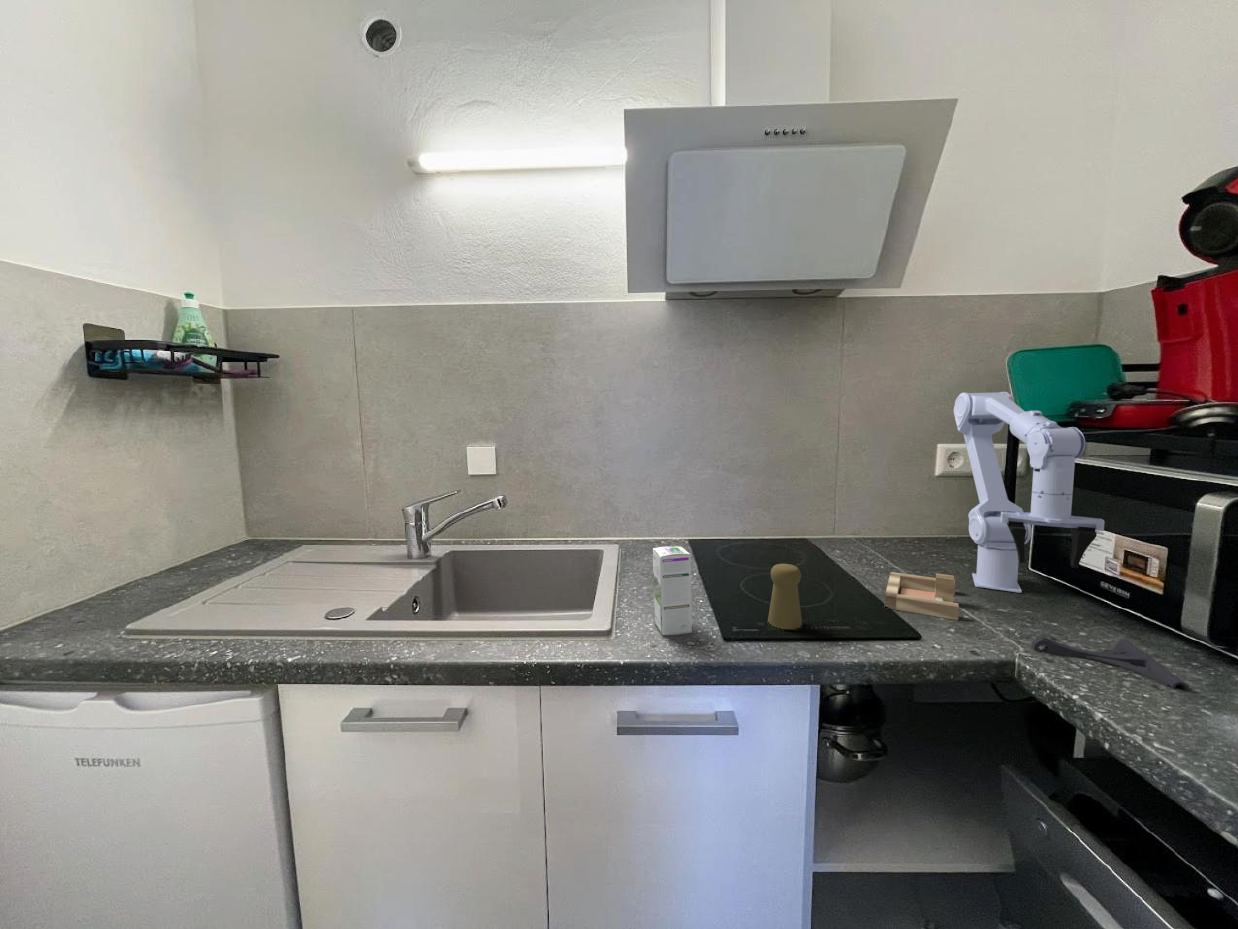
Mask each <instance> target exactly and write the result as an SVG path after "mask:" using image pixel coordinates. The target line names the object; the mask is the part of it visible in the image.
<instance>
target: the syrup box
mask: <svg viewBox="0 0 1238 929" xmlns="http://www.w3.org/2000/svg"><path fill="white" fill-rule="evenodd" d="M691 556H692V555H691V553H690V552H688V551H687V550H686V549H685V548H684V547H682V546H680V545H668V546H667V545H666V546H659V547H658V546H657V547H653V548H652V570H653V571H652V573H653V574H652V575H653V576H652V577H653V582H652V583H653V619H654V620H653V621H654V625H655V626H656V628H657V629H658V631H659V632H660V634H661V636H673V635H674V636H676V635H683V634H692V633H693V630H692V629H693V626H692V624H693V622H692V620H693V619H692V618H693V615H692V613H693V611H692V605H693V604H692V603H693V602H692V573H691V572H692V568H691V566H692V562H691Z"/></svg>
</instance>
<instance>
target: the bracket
mask: <svg viewBox="0 0 1238 929" xmlns="http://www.w3.org/2000/svg"><path fill="white" fill-rule="evenodd" d="M1041 646H1044V647H1043V648H1040V647H1041ZM1031 649H1032V650H1033V651H1034V650H1035V651H1040V652H1039V653H1042V651H1044V652H1046V653H1045V654H1050V653H1051V654H1050V655H1057V656H1058V655H1059V656H1064V655H1065V656H1066V657H1072V658H1078V659H1079V658H1080V659H1088V660H1092V661H1096V662H1101V663H1104V664H1108V665H1111V666H1115V667H1118V668H1121V667H1122V669H1124V670H1127V671H1130V672H1132V671H1133V672H1132V673H1135V672H1136V673H1135V674H1138V675H1141V676H1143V677H1146V678H1148V679H1150V680H1152V681H1154V682H1156V683H1159V684H1161V685H1163V686H1165V687H1169V688H1171V689H1172V690H1176V686H1178V687H1179V688H1181V689H1182V690H1183V691H1184V692H1189V691H1190V687H1189V685H1188V684H1186V683H1185V682H1184V681H1182V679H1180V678H1179V677H1178V676H1176V675H1174V673H1172V672H1171V671H1169V670H1168V669H1166V668H1165V667H1164V666H1162V665H1161V664H1160V663H1159V662H1157V661H1156V660H1154V659H1153V658H1152V657H1150V656H1149V655H1147V653H1145V652H1144V651H1143V650H1141V649H1139V648H1138V647H1137V646H1136V645H1134V644H1133V643H1132V642H1130V641H1129V640H1127V639H1125V638H1124V639H1120V640H1118V641H1117V642H1116V644H1115V647H1114V648H1112V649H1111V650H1106V651H1105V650H1104V651H1090V650H1086V649H1083V648H1077V647H1073V646H1070V645H1066V644H1064V643H1063V644H1062V643H1060V642H1058V641H1057V642H1056V641H1055V640H1051V639H1048V638H1046V637H1043V636H1039V637H1035V638H1034V639H1033V640H1032V641H1031ZM1040 649H1042V650H1040ZM1045 649H1046V650H1045ZM1035 651H1034V652H1035ZM1142 667H1144V668H1142ZM1146 667H1147V668H1148V669H1147V668H1146Z"/></svg>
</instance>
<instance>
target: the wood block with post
mask: <svg viewBox="0 0 1238 929" xmlns="http://www.w3.org/2000/svg"><path fill="white" fill-rule="evenodd" d="M935 578H936V584H935V600H939V601H945V602H952V603H954V596H955V595H954V581H955V576H954V575H952V574H951V575H950V574H944V573H943V574H942V573H935Z"/></svg>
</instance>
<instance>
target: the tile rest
mask: <svg viewBox="0 0 1238 929" xmlns="http://www.w3.org/2000/svg"><path fill="white" fill-rule="evenodd" d="M887 581H888V582H887V585H886V590H885V594H884V607H885V606H886V607H889V608H890V609H891V610H897V611H901V612H908V613H913V614H914V613H915V614H918V615H919V614H920V615H925V616H931V617H937V618H944V619H949V620H954V621H955V620H957V621H959V608H960V606H959V603H957V602H953V603H952V602H945V601H939V600H932V599H926V598H919V597H913V596H906V595H901V593H900V591H901V588H907V589H915V590H922V591H929V592H935V584H936V577H931V576H930V577H929V576H924V575H915V574H907V573H902V572H901V573H899V572H893V571H890V573H889V577H888V580H887ZM955 595H956V580H954V596H955ZM889 608H888V609H889Z"/></svg>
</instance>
